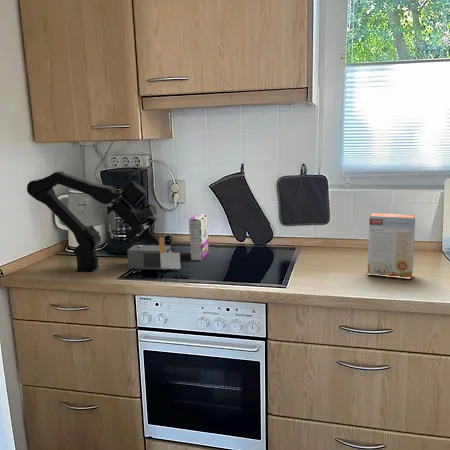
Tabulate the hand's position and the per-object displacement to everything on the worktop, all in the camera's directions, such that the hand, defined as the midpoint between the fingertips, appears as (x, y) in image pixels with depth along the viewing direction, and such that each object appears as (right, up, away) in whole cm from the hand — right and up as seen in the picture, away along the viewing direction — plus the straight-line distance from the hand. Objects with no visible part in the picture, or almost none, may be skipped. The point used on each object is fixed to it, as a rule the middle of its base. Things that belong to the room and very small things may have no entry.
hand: (159, 244), depth 168 cm
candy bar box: (+13, -6, +19) cm, 24 cm away
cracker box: (+79, -10, -9) cm, 80 cm away
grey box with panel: (-4, -8, +8) cm, 12 cm away
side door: (+4, -9, +2) cm, 10 cm away
